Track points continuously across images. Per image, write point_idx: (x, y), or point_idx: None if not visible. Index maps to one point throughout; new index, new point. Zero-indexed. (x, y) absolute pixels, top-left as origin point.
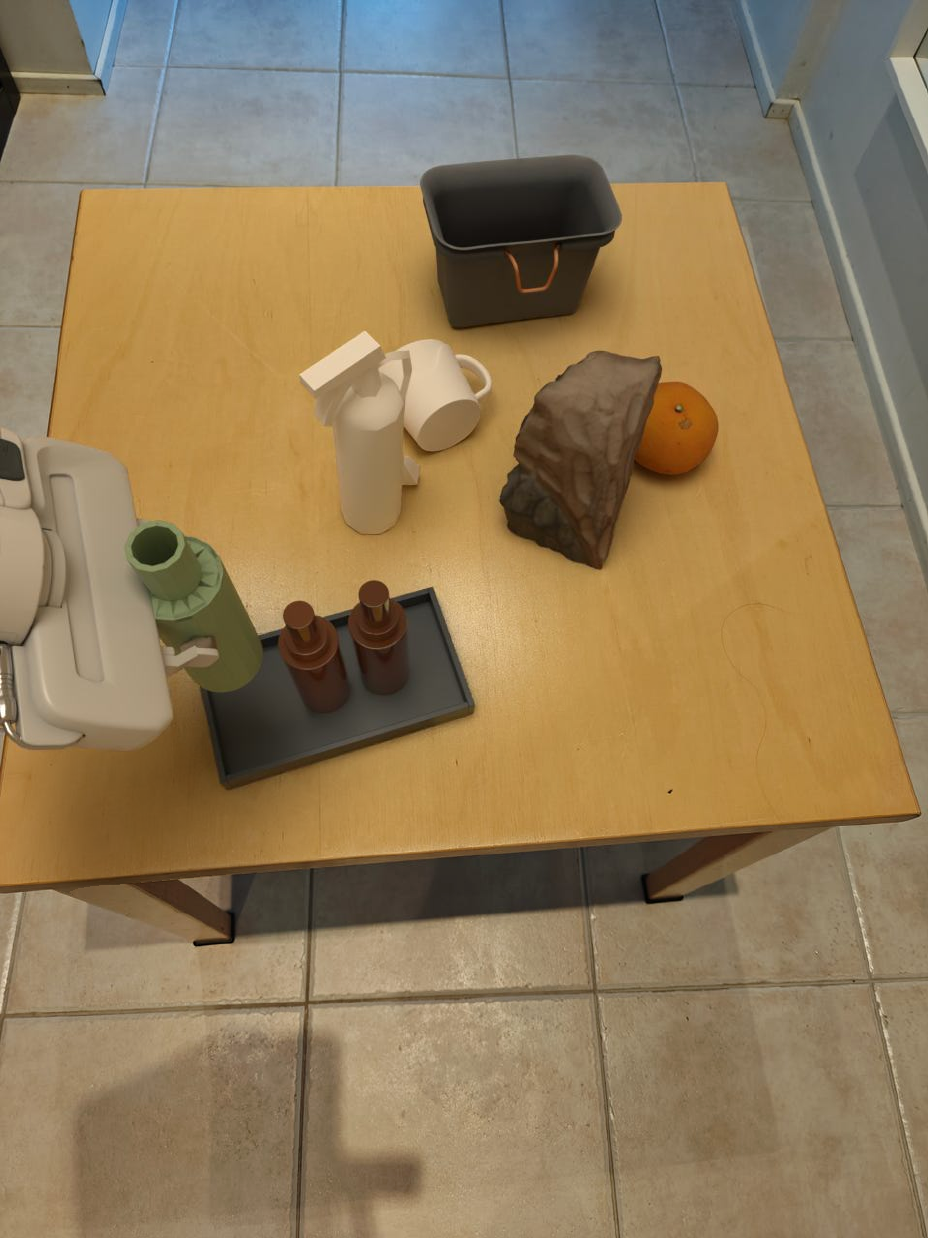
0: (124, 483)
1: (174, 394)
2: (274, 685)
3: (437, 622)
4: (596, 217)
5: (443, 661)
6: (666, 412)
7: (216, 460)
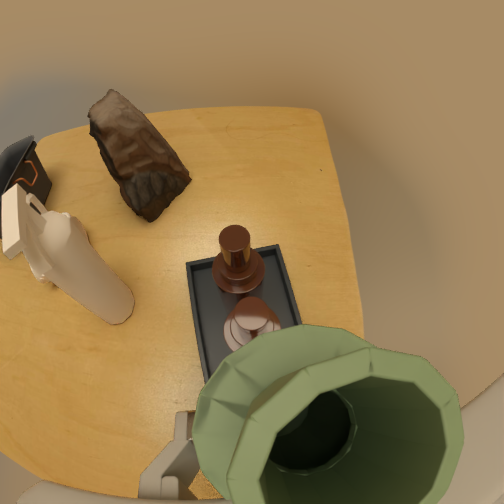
0: (70, 497)
1: (27, 413)
2: None
3: (211, 265)
4: (24, 151)
5: None
6: None
7: (66, 401)
